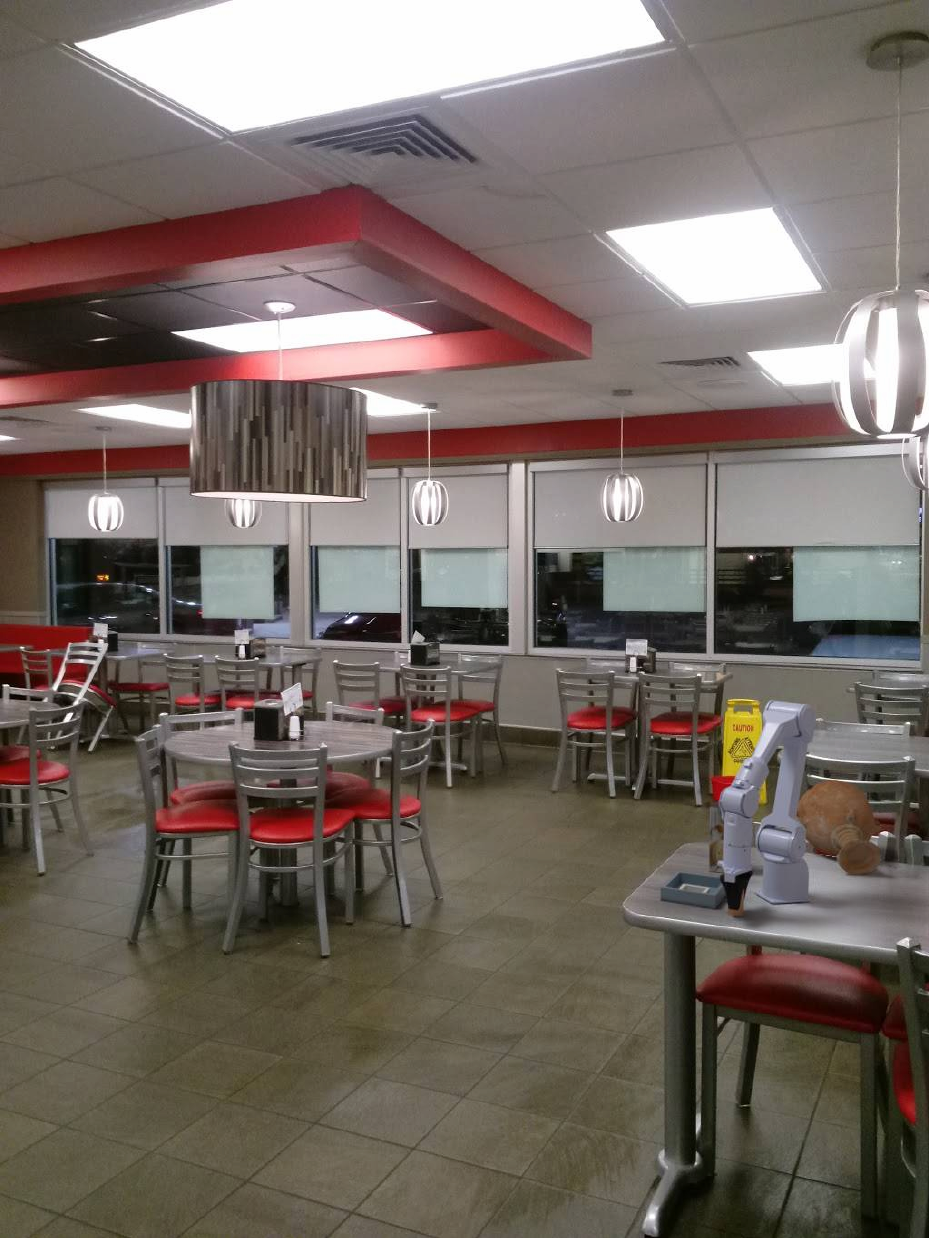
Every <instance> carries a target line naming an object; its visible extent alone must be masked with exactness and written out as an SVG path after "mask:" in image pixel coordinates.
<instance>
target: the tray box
mask: <svg viewBox="0 0 929 1238" xmlns="http://www.w3.org/2000/svg"><path fill="white" fill-rule="evenodd" d="M725 897H726V893H725V890H724V887H723V885H722V883H721V881H720V876H715V875H714V876H713V875H708V874H701V873H694V872H689V871H688V872H687V871H682V870H681V871H679V870H677V871H676V872H674V874H672V876H670V877H669V879H668V880H667V881H666V882H665V883H664V884H663V885H661V886H660V901H662V902H668V903H673V904H680V905H687V906H692V907H699V908H705V909H711V910H716V908H717V907H718V906H719V905H720V903H721V902H722V901H723V900H724V898H725Z"/></svg>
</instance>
